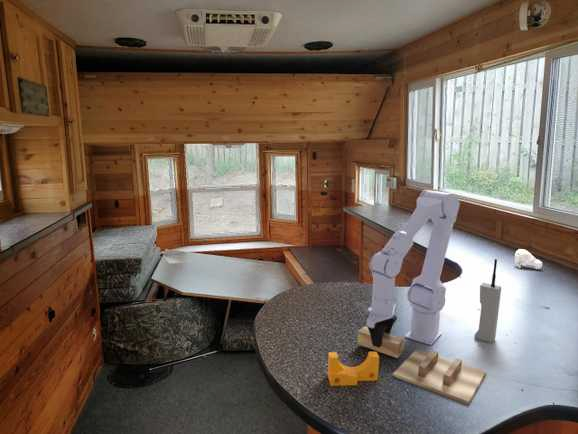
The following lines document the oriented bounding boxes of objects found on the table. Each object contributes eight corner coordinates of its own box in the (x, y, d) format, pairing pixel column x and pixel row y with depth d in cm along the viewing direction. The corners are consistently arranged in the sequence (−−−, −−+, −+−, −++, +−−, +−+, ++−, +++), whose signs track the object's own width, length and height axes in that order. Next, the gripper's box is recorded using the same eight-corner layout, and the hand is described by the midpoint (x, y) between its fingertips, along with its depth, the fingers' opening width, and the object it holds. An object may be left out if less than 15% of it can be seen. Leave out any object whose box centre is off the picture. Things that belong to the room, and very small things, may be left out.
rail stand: (416, 351, 117) (417, 340, 116) (485, 374, 106) (487, 362, 105) (392, 376, 104) (393, 363, 103) (468, 404, 93) (469, 391, 93)
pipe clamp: (330, 386, 99) (331, 361, 98) (327, 376, 104) (328, 352, 103) (379, 385, 100) (381, 360, 99) (374, 375, 105) (376, 351, 103)
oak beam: (363, 339, 121) (364, 326, 120) (403, 352, 114) (404, 338, 113) (357, 344, 118) (357, 331, 117) (397, 358, 111) (398, 344, 110)
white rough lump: (517, 246, 203) (545, 253, 197) (513, 263, 205) (541, 270, 199) (515, 249, 198) (544, 256, 191) (511, 266, 200) (539, 273, 194)
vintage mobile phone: (477, 334, 128) (486, 255, 124) (495, 339, 125) (504, 259, 121) (474, 338, 125) (482, 258, 121) (491, 343, 122) (501, 261, 118)
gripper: (381, 286, 121) (378, 329, 123) (357, 300, 110) (354, 348, 112) (404, 291, 117) (401, 336, 119) (381, 307, 105) (378, 356, 108)
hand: (380, 342), depth 115 cm, fingers closed on oak beam, 4 cm apart
